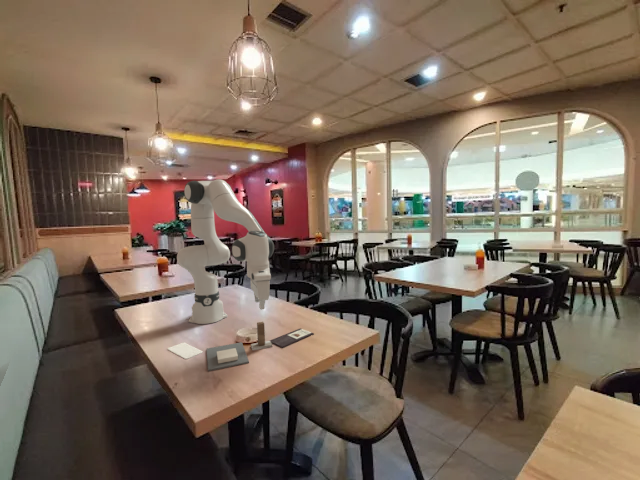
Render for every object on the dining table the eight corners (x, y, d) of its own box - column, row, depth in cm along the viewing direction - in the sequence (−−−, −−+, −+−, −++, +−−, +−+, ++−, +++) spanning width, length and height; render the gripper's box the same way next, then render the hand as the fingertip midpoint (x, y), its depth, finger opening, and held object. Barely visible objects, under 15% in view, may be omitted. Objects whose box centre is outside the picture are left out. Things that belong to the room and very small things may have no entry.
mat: (206, 349, 121) (206, 348, 121) (242, 343, 127) (242, 342, 127) (208, 371, 105) (208, 369, 105) (248, 362, 110) (248, 361, 110)
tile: (216, 351, 115) (217, 359, 108) (235, 348, 117) (237, 355, 111) (216, 355, 115) (218, 364, 108) (235, 352, 117) (238, 360, 111)
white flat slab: (185, 359, 114) (166, 348, 123) (186, 360, 114) (166, 350, 123) (203, 351, 119) (184, 342, 129) (203, 353, 120) (184, 343, 129)
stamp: (250, 346, 124) (249, 323, 123) (270, 343, 127) (269, 319, 126) (252, 350, 120) (251, 326, 119) (272, 346, 123) (271, 323, 122)
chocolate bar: (268, 340, 128) (300, 328, 140) (269, 342, 128) (300, 330, 141) (282, 346, 121) (313, 333, 134) (282, 349, 121) (313, 335, 134)
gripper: (246, 267, 129) (247, 299, 130) (255, 277, 110) (256, 314, 111) (261, 266, 131) (262, 297, 133) (272, 276, 112) (273, 312, 114)
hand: (259, 305), depth 122 cm, fingers open, 8 cm apart
